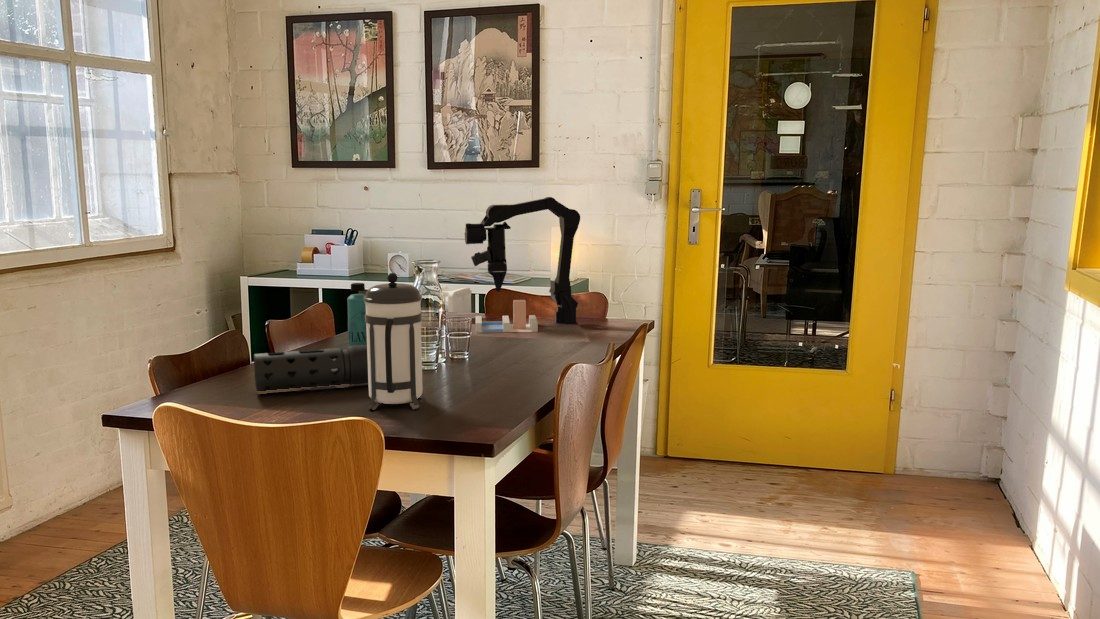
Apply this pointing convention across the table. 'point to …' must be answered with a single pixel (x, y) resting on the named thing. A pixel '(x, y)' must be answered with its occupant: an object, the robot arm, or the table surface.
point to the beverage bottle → (357, 316)
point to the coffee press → (394, 342)
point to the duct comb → (504, 325)
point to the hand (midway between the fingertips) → (498, 289)
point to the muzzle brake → (311, 368)
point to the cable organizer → (457, 300)
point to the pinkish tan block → (519, 314)
